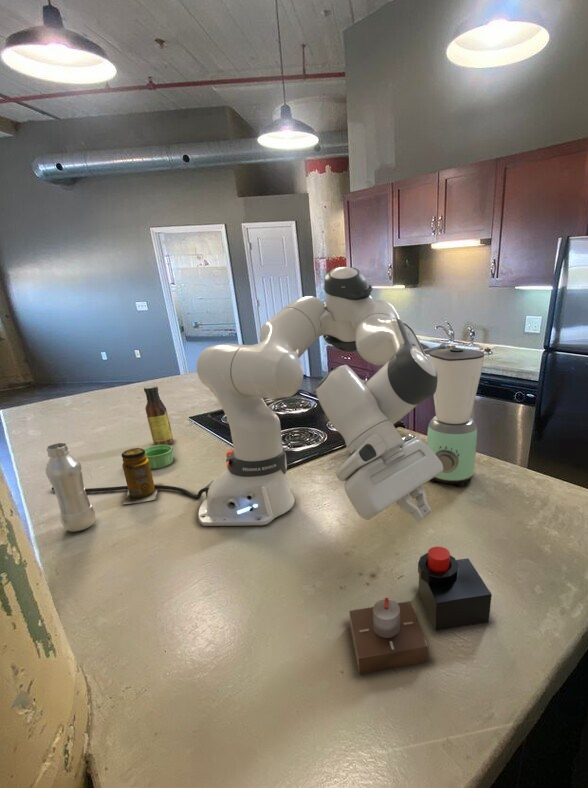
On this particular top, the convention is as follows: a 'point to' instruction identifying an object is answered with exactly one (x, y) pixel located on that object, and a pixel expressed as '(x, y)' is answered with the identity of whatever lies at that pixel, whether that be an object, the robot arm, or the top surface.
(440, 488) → the top surface
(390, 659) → the timer panel
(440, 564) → the button
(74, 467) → the plastic bottle
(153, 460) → the ramekin
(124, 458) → the condiment
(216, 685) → the top surface
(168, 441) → the sauce bottle
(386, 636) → the knob
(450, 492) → the top surface
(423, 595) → the black button base
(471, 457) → the green blender
